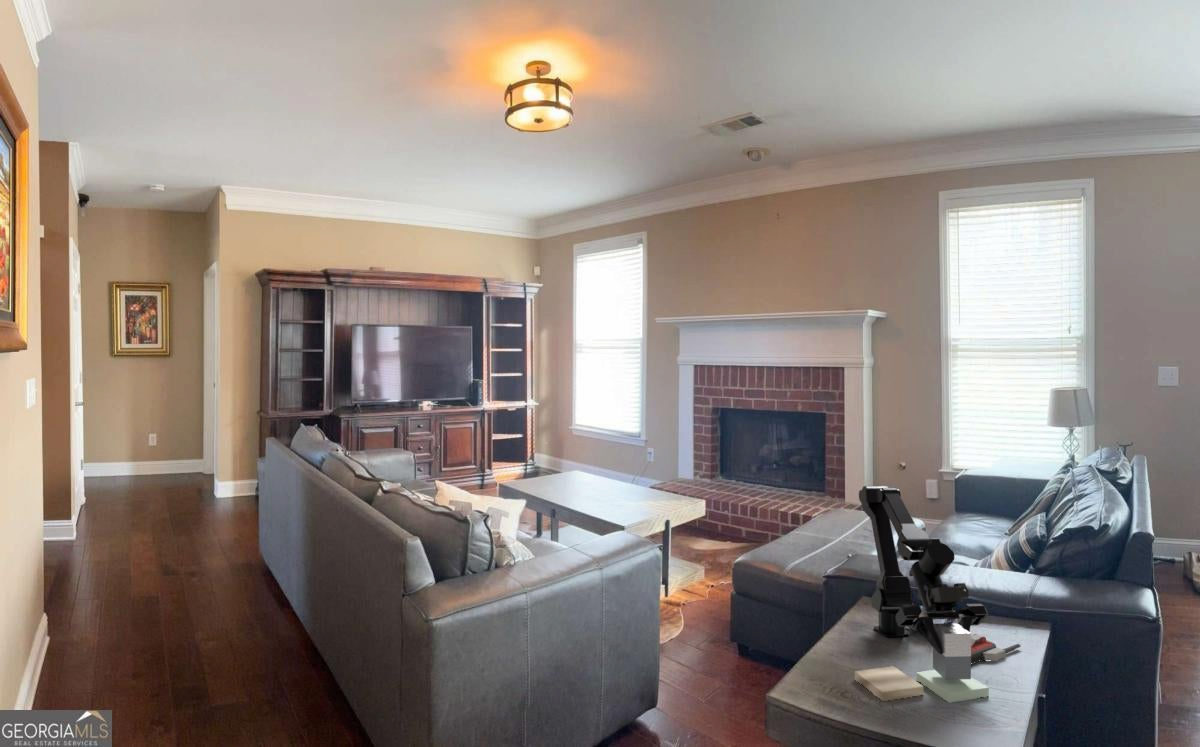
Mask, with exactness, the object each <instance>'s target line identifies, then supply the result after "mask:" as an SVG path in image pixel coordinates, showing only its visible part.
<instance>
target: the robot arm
mask: <svg viewBox="0 0 1200 747" xmlns="http://www.w3.org/2000/svg"><path fill="white" fill-rule="evenodd" d="M901 495H902V494H901V491H900V489H899V488H897V487H889V486H887V485H863V487H862V488H861V489H860V490H859V492H858V500H859V502H860V503H861V507H862V510H863V512H864V513H865V514H866V515H867V516H868V518H869V519H870V521H871V527H872V533H873V538H874V544H875V550H876V554H877V562H878V566H879V572H880V573H879V576H878V577H877V581H876V582H875V583H876V584H875V586H876V590H875V591H874V593H873V594H872V596H871V598H870V600H871V606H872V608H873V609H875V611H877V612H878V625H875V626H873V630H875V631H876V632H878V633H879V634H880V635H881V634H882V635H883V636H884V637H887V638H898V637H904V635H907V636H910V633H909V632H908V631H906V630H905V629H906V628H905V627H911V629H912V630H913V631H916V632H917V633H919V634H920V635H921V636H922V637H923V638H924V639H925V640H926V641H927V642H928V643H929V644H930V645H931V646H932V648H933V647H934V649H935V650H936V651H937V652H938V653H939V654H942V653H943V651H942V647H941V644H940V641H939V639H938V636H937V634H936V631H935V629H934V625H933V624H934V620H955V621H954V622H955V623H958V624H959V625H960V626H962V627H963V628H964V629H966V630H967V631H968V632H970V633H971V626H973V627H974V626H979V625H981V623H982V622H984V620H985V619H986V618H987V617H989V612H988V610H987V608H986V607H985V605H984V604H982V603H966V604H964V605H963V607H962V608H961V609H953V608H955V607H957V605H958V603H962V602H963V601H964V600H963V599H968V598H969V597H970V594H969V588H968V587H967V585H966V583H965V582H957V583H954V584H953V586H948V584H947V583H944V582H943V580H942V577H941V576H943V575H944V574H945V573H946V571H947V570H948V569H949V567H950V566H951V565H952V564H953V562H954V560H955V553H954V551H953V549H951V548H950V547H949V545H947V544H945V543H943V542H941V541H940V538H939V537H938V538H930V536H929V534H927V532H926V531H925V530H923V529H922V528H920V527H918V526H917V524H916V522H915V521H914V519H913V517H912V516H911V515H912V514H910V512H909V510H908V508H907V506H906V505H905V502H904V501H903V499H902V496H901ZM892 526H893V529H894V530H895V533H896V534H897V541H896V542H897V543H896V545H895V540H894V535H893V530H892ZM896 547H897V550H896ZM897 552H898V554H899V555H900V556H901V558H902V559H903V561H909V562H910V561H914V563H913V564H911V567H910V570H909V571H908V572H909V574H908V575H909V577H912V578H913V580H914V584H915V586H916V588H917V592H918V593H917V595H916V596H917V599H918V600H920V601H921V603H922V605H923V609H922V608H921V605H919V604H913V603H914V594H913V590H912V588H911V583H910V578H909V577H908V575H904V574H903V573H902V572H901V571H900V564H899V561H898V555H897Z"/></svg>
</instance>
